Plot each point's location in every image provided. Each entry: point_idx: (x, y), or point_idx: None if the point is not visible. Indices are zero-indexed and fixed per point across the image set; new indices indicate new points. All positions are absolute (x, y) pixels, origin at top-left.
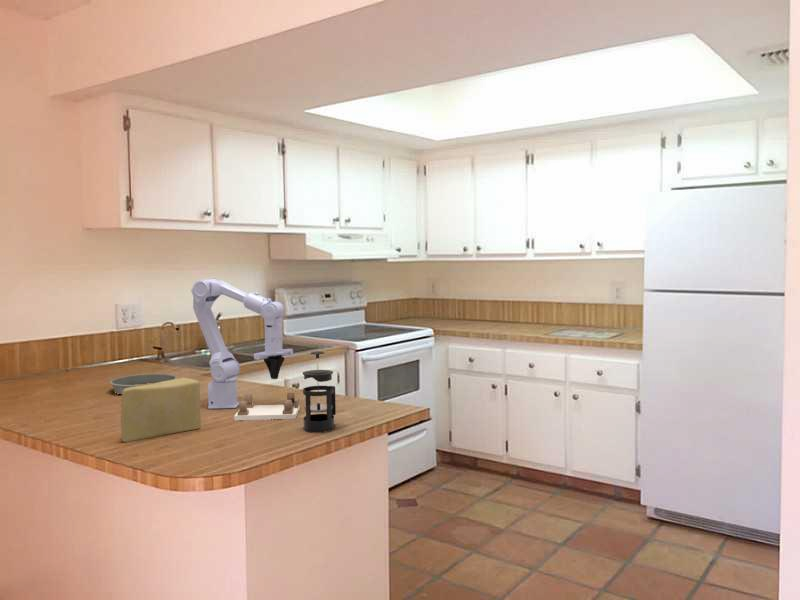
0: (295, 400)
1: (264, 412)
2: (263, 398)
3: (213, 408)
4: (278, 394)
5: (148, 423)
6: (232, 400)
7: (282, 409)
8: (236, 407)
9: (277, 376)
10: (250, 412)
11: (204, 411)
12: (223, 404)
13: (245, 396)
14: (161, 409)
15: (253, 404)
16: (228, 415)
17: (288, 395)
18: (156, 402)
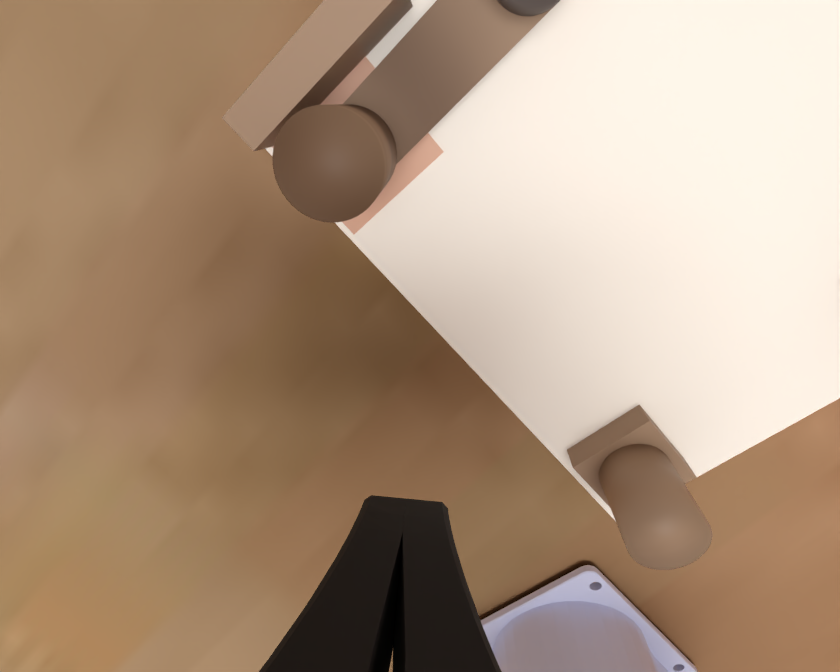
0: None
1: (761, 152)
2: (253, 615)
3: (679, 651)
4: (106, 619)
5: None
6: (594, 641)
7: (543, 89)
8: (582, 566)
9: (379, 520)
10: (818, 280)
11: (757, 646)
12: (644, 642)
13: (706, 534)
14: None
15: (600, 444)
16: (799, 458)
17: (385, 153)
18: None
